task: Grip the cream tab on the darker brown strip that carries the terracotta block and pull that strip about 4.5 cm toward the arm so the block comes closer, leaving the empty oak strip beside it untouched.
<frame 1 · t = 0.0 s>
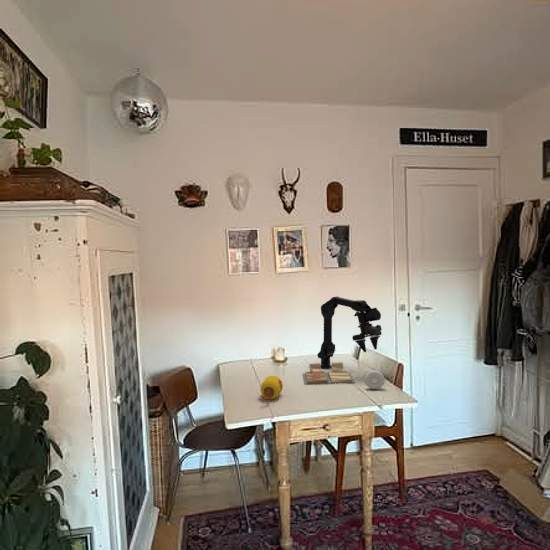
hand: (370, 350, 228), 15 cm above the table, tool pointing down, fingers open, 9 cm apart
lane mat: (327, 378, 232), on the table
yellow apple: (272, 397, 204), on the table
block: (316, 377, 228), point 2 cm above the table, touching darker brown strip
donut: (374, 389, 210), on the table
strip right: (339, 371, 230), point 4 cm above the table, slide at 0.0 cm
darker brown strip: (316, 372, 231), point 4 cm above the table, slide at 0.0 cm, touching block
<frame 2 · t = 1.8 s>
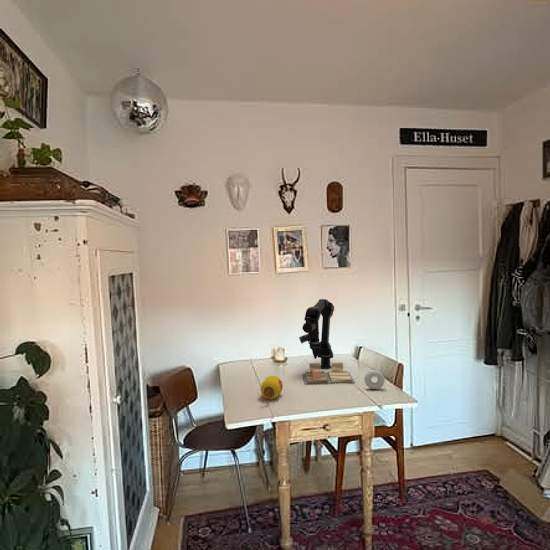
hand: (314, 356, 238), 11 cm above the table, tool pointing down, fingers open, 9 cm apart
nothing on the table moved.
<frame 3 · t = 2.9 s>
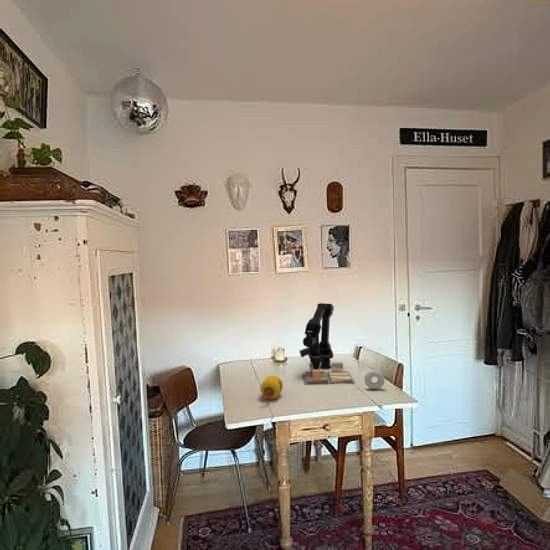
hand: (314, 370, 238), 3 cm above the table, tool pointing down, fingers open, 8 cm apart
nothing on the table moved.
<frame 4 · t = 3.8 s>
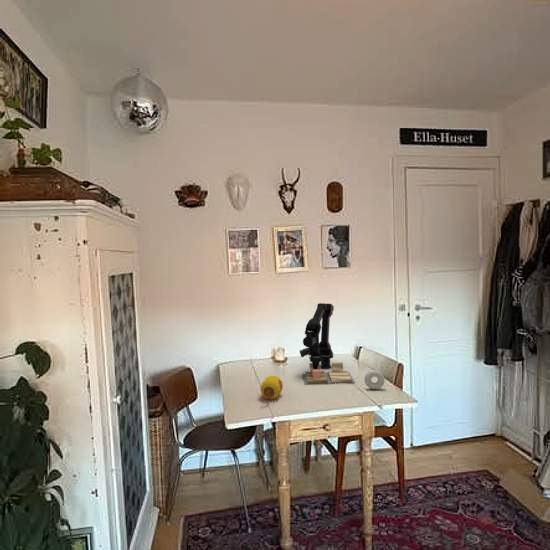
hand: (314, 370, 238), 3 cm above the table, tool pointing down, fingers closed on darker brown strip, 2 cm apart
darker brown strip: (316, 372, 231), point 4 cm above the table, slide at 0.0 cm, touching block, gripper
everything else where it was.
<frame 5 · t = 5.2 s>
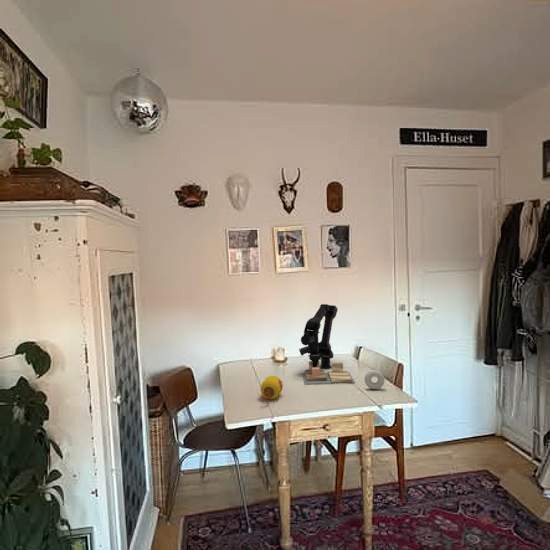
hand: (314, 368, 243), 3 cm above the table, tool pointing down, fingers closed on darker brown strip, 2 cm apart
block: (315, 375, 232), point 2 cm above the table, touching darker brown strip
darker brown strip: (315, 370, 235), point 4 cm above the table, slide at 4.4 cm, touching block, gripper
everything else where it was.
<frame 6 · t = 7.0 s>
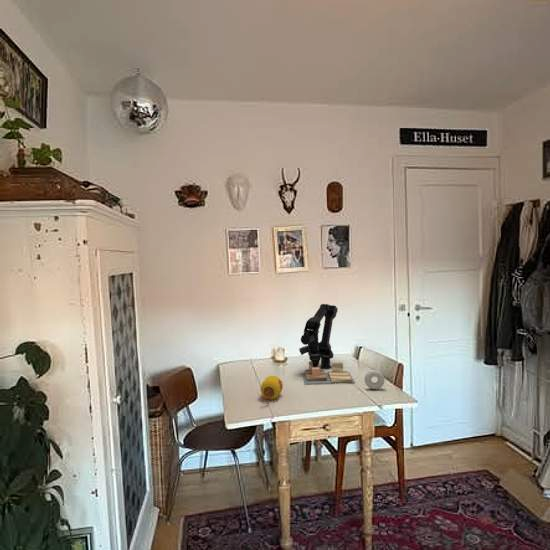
hand: (314, 367, 243), 3 cm above the table, tool pointing down, fingers open, 9 cm apart
darker brown strip: (315, 370, 235), point 4 cm above the table, slide at 4.5 cm, touching block
everything else where it was.
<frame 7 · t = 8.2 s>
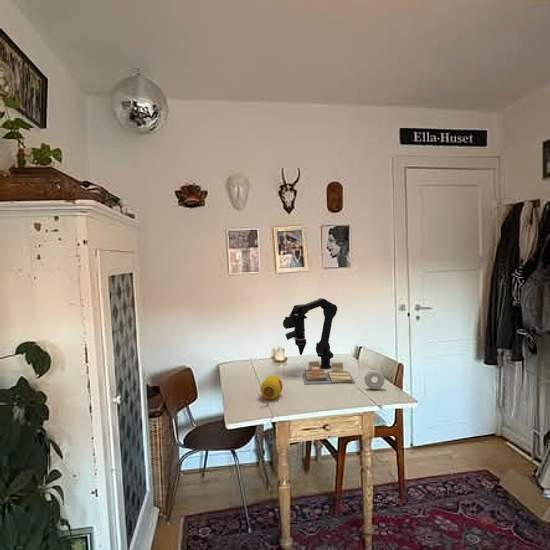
hand: (300, 353, 243), 12 cm above the table, tool pointing down, fingers open, 9 cm apart
nothing on the table moved.
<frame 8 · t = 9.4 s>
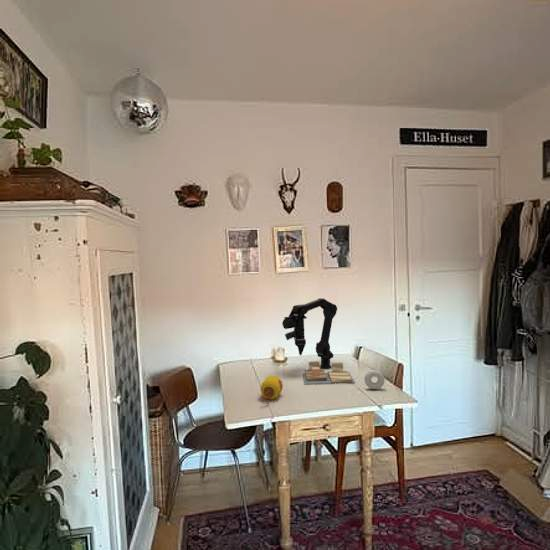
hand: (300, 353, 243), 12 cm above the table, tool pointing down, fingers open, 9 cm apart
nothing on the table moved.
at the end: darker brown strip slide at 4.5 cm; block inside the target area (0.2 cm from its centre), point 2.0 cm above the table; strip right moved 0.0 cm from its start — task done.
